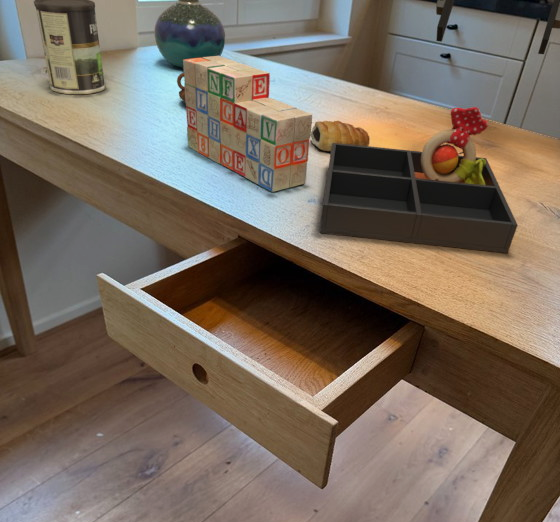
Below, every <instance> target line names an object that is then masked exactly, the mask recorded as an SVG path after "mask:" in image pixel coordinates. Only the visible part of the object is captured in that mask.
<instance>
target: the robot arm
mask: <svg viewBox="0 0 560 522" xmlns="http://www.w3.org/2000/svg"><path fill="white" fill-rule="evenodd" d="M454 4H455V0H437V1H436V8H435V10H436V11H435V13H436V15H437V16H440V17H439V20H438V23H437V28H436V42H441V43H442V42H443V40H444V37H445V32H446V31H447V30H446V29H447V26H448V23H449V20H450V16H451V13H452V9H453V8H454V7H453V6H454ZM553 29H558V30H560V0H553V2H552V6H551V8H550V12H549V15H548V18H547V22H546V25H545V28H544V32H543V35H542V38H541V41H540V46H539V49H538V52H537V54H538V55H545V53H546V50H547V47H548V44H549V40H550V37H551V34H552V30H553Z"/></svg>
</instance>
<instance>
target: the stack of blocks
mask: <svg viewBox="0 0 560 522" xmlns="http://www.w3.org/2000/svg"><path fill="white" fill-rule="evenodd" d="M183 67H184V68H183V73H184V77H183V78H184V83H183V84H184V85H183V86H184V87H185V102H184V103H185V111H186V112H185V113H186V125H187V126H186V133H187V134H186V135H187V146H188V147H189V148H190V149H192V150H194V151H195V152H197V153H198V154H201V155H202V156H204V157H205V158H206V157H207V158H208V159H210V160H211V161H213V162H215V163H217V164H219V165H222V166H224V167H225V168H227V169H230V170H231V171H233V172H234V173H237V174H239V175H240V176H243V177H244V178H246V179H248V180H249V181H251V182H253V183H255V184H256V185H259V186H260V187H262V188H264V189H266V190H267V191H270V192H271V193H273V192H278V191H282V190H285V189H288V188H294V187H297V186H301V185H304V184H306V181H307V170H308V161H309V149H310V139H311V131H312V126H313V125H312V124H313V114H312V113H311V112H307V111H305V110H302V109H300V108H297V107H296V106H293V105H291V104H288V103H286V102H282V101H280V100H278V99H275V98H272V97H270V79H271V78H270V72H267V71H265V70H262V69H259V68H256V67H254V66H252V65H251V66H250V65H248V64H245V63H241V62H238V61H235V60H232V59H230V58H227V57H224V56H222V55H221V56H211V57H202V58H193V59H185V60H183Z"/></svg>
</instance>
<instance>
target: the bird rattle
mask: <svg viewBox="0 0 560 522" xmlns="http://www.w3.org/2000/svg"><path fill="white" fill-rule="evenodd" d="M450 116H451V117H450V118H451V124H452V127H451V128H449V129H444V130H440V131H439V132H437V133H435V134H433V136H431V137H430V138H429V139H428V140H427V141H426V143H425V145H424V146H423V148H422V151H421V152H422V154H421V167H422V171H423V173H424V175H425V177H426V178H427V179H429V180H439V181H448V182H458V183H460V182H463V181H465V183H468V184H478V185H485V181H484V179H483V177H482V174H481V172H482V167H484V166H485V164H486V161H485V160H484V159H479V160H477V161H475V160H476V157H477V152H476V151H477V150H476V146H475V143H474V141H473V139H472V138H471V136H478V135H480V134H481V133H482V132H484V131H485V130H487V128H488V126H489V123H488V121H487V120H485V119H483V118H482V113H481V110H480V109H479V108H478V107H477V106H472V107H468V108H467V107H466V108H463V107H454V108H451V110H450ZM445 143H446V144H445ZM455 147H456V148H459V149H460V150H462V151H461V152H459V153H458V150H457V149H456V148H455ZM458 155H463V156H464V157H463V159H461V161H460V164H459V167H458V168H457V169H456V170H455V171H454V172H453V173H451V174H447V173H449V172H451V171H452V170H453V169H454V168H455V167H456V165H457V163H458Z"/></svg>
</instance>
